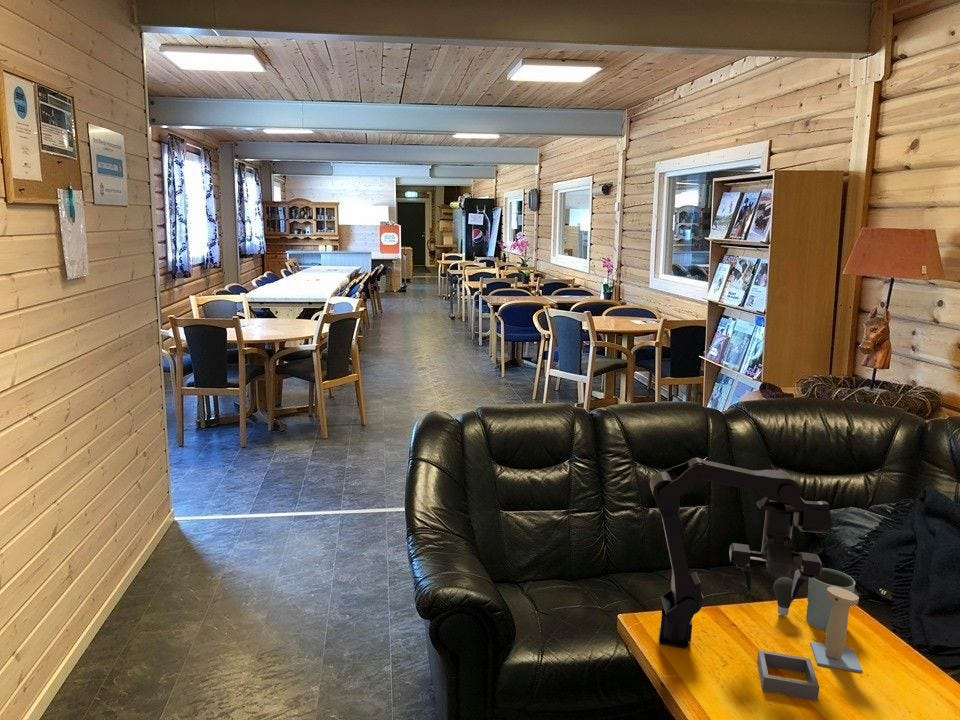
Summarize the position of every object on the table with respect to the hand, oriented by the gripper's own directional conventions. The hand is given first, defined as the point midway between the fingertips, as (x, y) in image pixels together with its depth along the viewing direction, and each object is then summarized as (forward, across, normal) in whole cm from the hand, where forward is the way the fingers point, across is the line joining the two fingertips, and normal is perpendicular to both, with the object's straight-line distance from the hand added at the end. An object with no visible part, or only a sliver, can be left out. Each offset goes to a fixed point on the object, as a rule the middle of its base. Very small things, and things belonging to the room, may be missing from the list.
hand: (770, 594), depth 162 cm
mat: (+13, +15, +1) cm, 20 cm away
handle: (+13, +14, +1) cm, 19 cm away
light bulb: (+13, +6, +17) cm, 22 cm away
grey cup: (+13, +16, +17) cm, 27 cm away
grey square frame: (+13, +3, -12) cm, 18 cm away
